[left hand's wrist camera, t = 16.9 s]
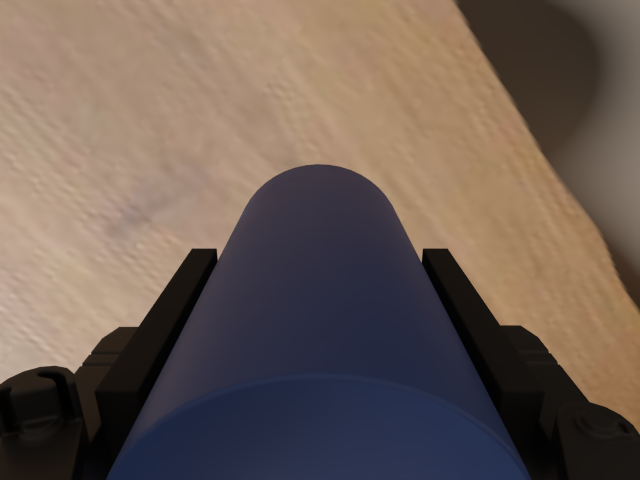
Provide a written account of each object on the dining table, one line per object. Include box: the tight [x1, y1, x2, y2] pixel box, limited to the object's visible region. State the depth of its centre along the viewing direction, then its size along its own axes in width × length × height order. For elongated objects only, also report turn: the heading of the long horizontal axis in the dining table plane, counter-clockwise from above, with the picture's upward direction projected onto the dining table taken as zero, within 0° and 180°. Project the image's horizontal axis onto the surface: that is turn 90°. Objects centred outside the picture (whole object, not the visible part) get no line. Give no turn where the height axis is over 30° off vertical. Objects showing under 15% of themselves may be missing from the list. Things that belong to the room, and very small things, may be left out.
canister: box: [106, 164, 531, 480], centre depth 12 cm, size 6×6×12 cm
